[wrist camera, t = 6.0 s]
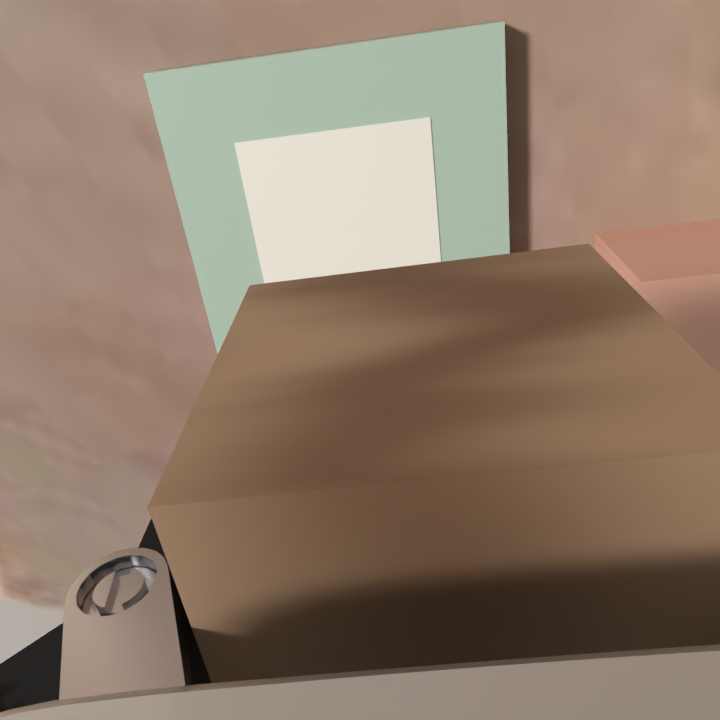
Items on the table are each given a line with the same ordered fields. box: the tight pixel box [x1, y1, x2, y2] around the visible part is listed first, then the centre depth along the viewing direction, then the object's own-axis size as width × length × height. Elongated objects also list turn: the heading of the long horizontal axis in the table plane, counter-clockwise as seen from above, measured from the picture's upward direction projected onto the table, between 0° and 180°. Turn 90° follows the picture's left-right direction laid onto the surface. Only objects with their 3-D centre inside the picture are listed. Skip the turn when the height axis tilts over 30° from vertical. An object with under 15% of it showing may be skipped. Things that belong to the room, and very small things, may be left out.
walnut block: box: [148, 244, 720, 683], centre depth 10 cm, size 6×6×6 cm
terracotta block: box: [595, 219, 720, 374], centre depth 27 cm, size 6×6×6 cm
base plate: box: [143, 21, 510, 354], centre depth 28 cm, size 14×14×1 cm
